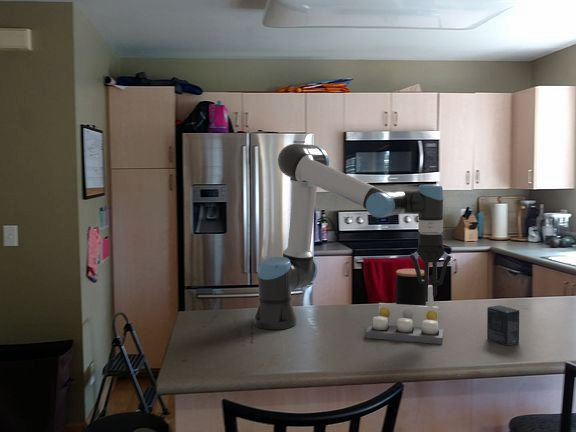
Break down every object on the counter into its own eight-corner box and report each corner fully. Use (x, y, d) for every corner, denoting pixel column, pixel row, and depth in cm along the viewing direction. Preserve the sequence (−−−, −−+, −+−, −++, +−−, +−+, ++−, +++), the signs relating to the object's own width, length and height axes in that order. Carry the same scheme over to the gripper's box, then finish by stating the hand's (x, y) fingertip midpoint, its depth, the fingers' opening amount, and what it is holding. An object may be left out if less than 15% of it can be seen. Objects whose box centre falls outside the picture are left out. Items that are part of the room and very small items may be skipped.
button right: (421, 333, 166) (421, 323, 165) (422, 328, 170) (422, 319, 170) (437, 334, 164) (437, 324, 164) (438, 330, 169) (438, 320, 168)
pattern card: (378, 326, 182) (378, 303, 181) (379, 325, 183) (379, 302, 182) (437, 330, 175) (438, 307, 174) (438, 329, 176) (438, 306, 176)
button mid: (396, 331, 168) (396, 321, 168) (398, 327, 173) (398, 317, 172) (411, 332, 167) (411, 322, 166) (412, 328, 171) (413, 318, 171)
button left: (371, 329, 171) (371, 319, 170) (374, 325, 175) (374, 315, 175) (386, 330, 169) (386, 320, 169) (388, 326, 174) (388, 316, 173)
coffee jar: (423, 316, 193) (423, 268, 192) (428, 324, 183) (428, 274, 181) (394, 315, 194) (394, 268, 193) (397, 324, 184) (397, 274, 182)
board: (365, 337, 169) (365, 331, 169) (370, 329, 178) (370, 323, 178) (442, 344, 162) (442, 337, 162) (443, 335, 170) (443, 329, 170)
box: (519, 343, 162) (520, 310, 161) (506, 346, 159) (506, 312, 158) (499, 336, 169) (499, 304, 168) (486, 339, 166) (486, 306, 165)
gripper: (408, 234, 163) (408, 307, 165) (451, 234, 159) (451, 310, 161) (410, 231, 170) (411, 302, 172) (452, 232, 166) (452, 304, 168)
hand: (430, 305), depth 166 cm, fingers closed
